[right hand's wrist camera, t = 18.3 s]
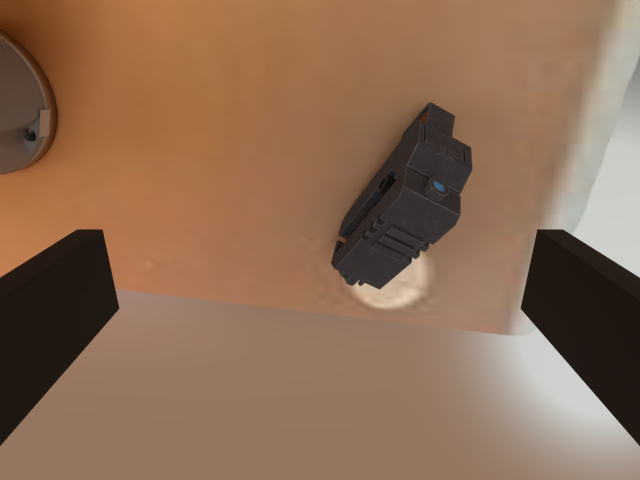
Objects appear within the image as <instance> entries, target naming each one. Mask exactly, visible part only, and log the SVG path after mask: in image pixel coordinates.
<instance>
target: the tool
mask: <svg viewBox="0 0 640 480" xmlns="http://www.w3.org/2000/svg"><path fill="white" fill-rule="evenodd" d="M454 119H455V116H454V115H452V114H451V113H449V112H447V111H445V110H443V109H442V108H440V107H438V106H436V105H434V104H433V103H428V104H427V106H426V107H425V108H424V109H423V110H422V112H421V113H420V114H419V115H418V116H417V118H416V119H415V120H414V121H413V122H412V124H411V125H410V126H409V127H408V129H407V130H406V131H405V132H404V134H403V137H402V140H401V141H400V143H399V144H398V145H397V147H396V148H395V149H394V151H393V152H392V153H391V155H390V156H389V157H388V159H387V160H386V161H385V163H384V164H383V166H382V167H381V168H380V170H379V171H378V172H377V174H376V175H375V176H374V178H373V179H372V180H371V182H370V183H369V184H368V186H367V187H366V189H365V190H364V191H363V193H362V194H361V195H360V197H359V198H358V199H357V201H356V202H355V203H354V205H353V206H352V208H351V209H350V210H349V212H348V213H347V214H346V216H345V218H344V220H343V222H342V225H341V228H340V232H339V236H341V237H343V238H346V239H348V240H347V241H346V242H345V243H343V242H341V241H339V240H338V241H337V243H336V247H335V250H334V254H333V258H332V262H331V264H332V266H333V267H334V269H336V270H338V271H339V273H340V275H341V276H342V277H343V278H345V281H346V283H347V284H349V285H351V286H353V285H355V284H356V283H357V282H358V281H359V280H360V281H359V282H358V284H359V285H360V286H362V285H363V284H364V283H367V284H369V285H371V286H373V287H376V288H378V289H381V288H382V287H383V286H384V285H386V284H387V283H388V282H389V281H390V280H392V279H393V278H394V277H395V276H396V275H398V274H399V273H400V272H401V271H402V270H403V269H405V268H406V267H407V266H408V265H409V264H411V262H412V257H413V258H415V259H417V258H418V257H419V256H420V250H421V251H423V252H425V251H426V250H427V249H428V248H429V243H431V244H434V243H436V242H437V241H438V240H439V239H440V238H441V237H442V236H444V235H445V234H446V233H447V232H448V231H449V230H450V229H452V228H453V227H454V226H455V225H456V223H457V221H458V219H459V217H460V196H459V194H460V193H461V191H462V189H463V187H464V185H465V183H466V181H467V179H468V177H469V175H470V173H471V172H472V157H471V147H469V146H467V145H465V144H463V143H462V142H460V141H458V140H456V139H454V138H452V132H453V125H454Z"/></svg>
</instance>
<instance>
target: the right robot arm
mask: <svg viewBox="0 0 640 480" xmlns="http://www.w3.org/2000/svg"><path fill="white" fill-rule="evenodd" d="M56 119H57V116H56V106H55V101H54V97H53V93H52V90H51V87H50V85H49V83H48V81H47V79H46V77H45V75H44V73H43V71H42V70H41V68H40V67H39V65H38V64H37V62H36V61H35V60H34V58H33V57H32V56H31V55H30V54H29V53H28V52H27V51H26V50H25V49H24V48H23V47H22V46H21V45H20V44H19V43H18V42H16V41H15V40H14V39H13V38H11V37H10V36H8V35H7V34H5V33H4V32H2V31H0V174H6V173H10V172H13V171H17V170H20V169H23V168H26V167H28V166H30V165H32V164H33V163H35V162H36V161H38V160H39V159H40V158H41V157H42V156H43V155H44V154H45V153H46V151H47V150H48V148H49V146H50V145H51V143H52V140H53V138H54V134H55V130H56ZM118 309H119V305H118V300H117V296H116V291H115V286H114V281H113V277H112V272H111V267H110V262H109V258H108V253H107V248H106V244H105V239H104V234H103V230H76V231H74V232H72V233H71V234H69V235H68V236H66V237H64V238H63V239H61V240H60V241H58V242H56V243H55V244H53V245H52V246H50V247H48V248H47V249H45V250H44V251H42V252H41V253H39V254H37V255H36V256H34V257H33V258H31V259H29V260H28V261H26V262H25V263H23V264H21V265H20V266H18V267H17V268H15V269H13V270H12V271H10V272H9V273H7V274H5V275H4V276H2V277H1V278H0V446H1V444H2V443H3V442H4V441H5V440H6V439H7V438H8V436H9V435H10V434H11V433H12V432H13V431H14V429H15V428H16V427H17V426H18V425H19V424H20V423H21V421H22V420H23V419H24V418H25V417H26V416H27V415H28V413H29V412H30V411H31V410H32V409H33V408H34V406H35V405H36V404H37V403H38V402H39V401H40V400H41V398H42V397H43V396H44V395H45V394H46V393H47V391H48V390H49V389H50V388H51V387H52V386H53V384H54V383H55V382H56V381H57V380H58V379H59V378H60V376H61V375H62V374H63V373H64V372H65V371H66V370H67V368H68V367H69V366H70V365H71V364H72V363H73V361H74V360H75V359H76V358H77V357H78V356H79V355H80V353H81V352H82V351H83V350H84V349H85V347H86V346H87V345H88V344H89V343H90V342H91V341H92V339H93V338H94V337H95V336H96V335H97V334H98V333H99V331H100V330H101V329H102V328H103V327H104V326H105V325H106V323H107V322H108V321H109V320H110V319H111V318H112V316H113V315H114V314H115V313H116V312H117V311H118ZM521 310H522V311H523V312H524V313H525V314H526V315H527V316H528V318H529V319H530V320H531V321H532V322H533V323H534V325H535V326H536V327H537V328H538V329H539V330H540V331H541V333H542V334H543V335H544V336H545V337H546V338H547V340H548V341H549V342H550V343H551V344H552V345H553V346H554V348H555V349H556V350H557V351H558V352H559V353H560V355H561V356H562V357H563V358H564V359H565V360H566V361H567V363H568V364H569V365H570V366H571V367H572V368H573V370H574V371H575V372H576V373H577V374H578V375H579V376H580V378H581V379H582V380H583V381H584V382H585V383H586V384H587V386H588V387H589V388H590V389H591V390H592V391H593V393H594V394H595V395H596V396H597V397H598V398H599V399H600V401H601V402H602V403H603V404H604V405H605V406H606V408H607V409H608V410H609V411H610V412H611V413H612V414H613V416H614V417H615V418H616V419H617V420H618V421H619V423H620V424H621V425H622V426H623V427H624V428H625V429H626V431H627V432H628V433H629V434H630V435H631V436H632V438H633V439H634V440H635V441H636V442H637V443H638V444H639V446H640V278H639V277H638V276H636V275H634V274H633V273H631V272H630V271H628V270H627V269H625V268H623V267H622V266H620V265H619V264H617V263H615V262H614V261H612V260H611V259H609V258H607V257H606V256H604V255H603V254H601V253H599V252H598V251H596V250H595V249H593V248H592V247H590V246H588V245H587V244H585V243H583V242H582V241H580V240H579V239H577V238H576V237H574V236H572V235H571V234H569V233H568V232H566V231H564V230H537V234H536V239H535V244H534V248H533V253H532V258H531V262H530V267H529V272H528V277H527V281H526V286H525V291H524V295H523V300H522V305H521Z"/></svg>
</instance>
